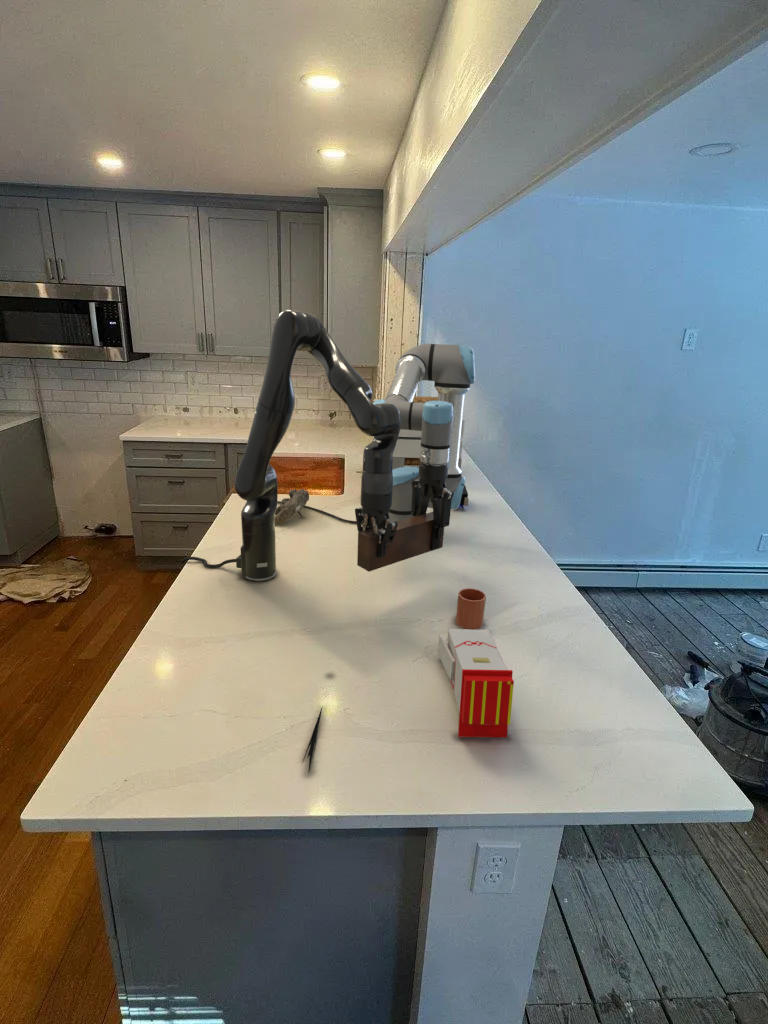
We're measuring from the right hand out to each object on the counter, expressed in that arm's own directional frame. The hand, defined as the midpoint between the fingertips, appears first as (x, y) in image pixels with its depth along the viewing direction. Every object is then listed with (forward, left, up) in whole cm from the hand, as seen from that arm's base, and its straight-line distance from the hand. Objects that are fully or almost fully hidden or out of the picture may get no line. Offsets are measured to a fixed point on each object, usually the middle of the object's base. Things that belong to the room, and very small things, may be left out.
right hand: (427, 545), depth 154 cm
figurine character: (-46, +64, -15) cm, 81 cm away
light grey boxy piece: (-90, +85, -15) cm, 124 cm away
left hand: (0, -19, +3) cm, 19 cm away
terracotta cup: (+18, -2, -15) cm, 23 cm away
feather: (+25, -52, -15) cm, 60 cm away
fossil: (-73, +2, -15) cm, 75 cm away
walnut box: (0, -10, -1) cm, 10 cm away
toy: (+37, -23, -15) cm, 46 cm away
